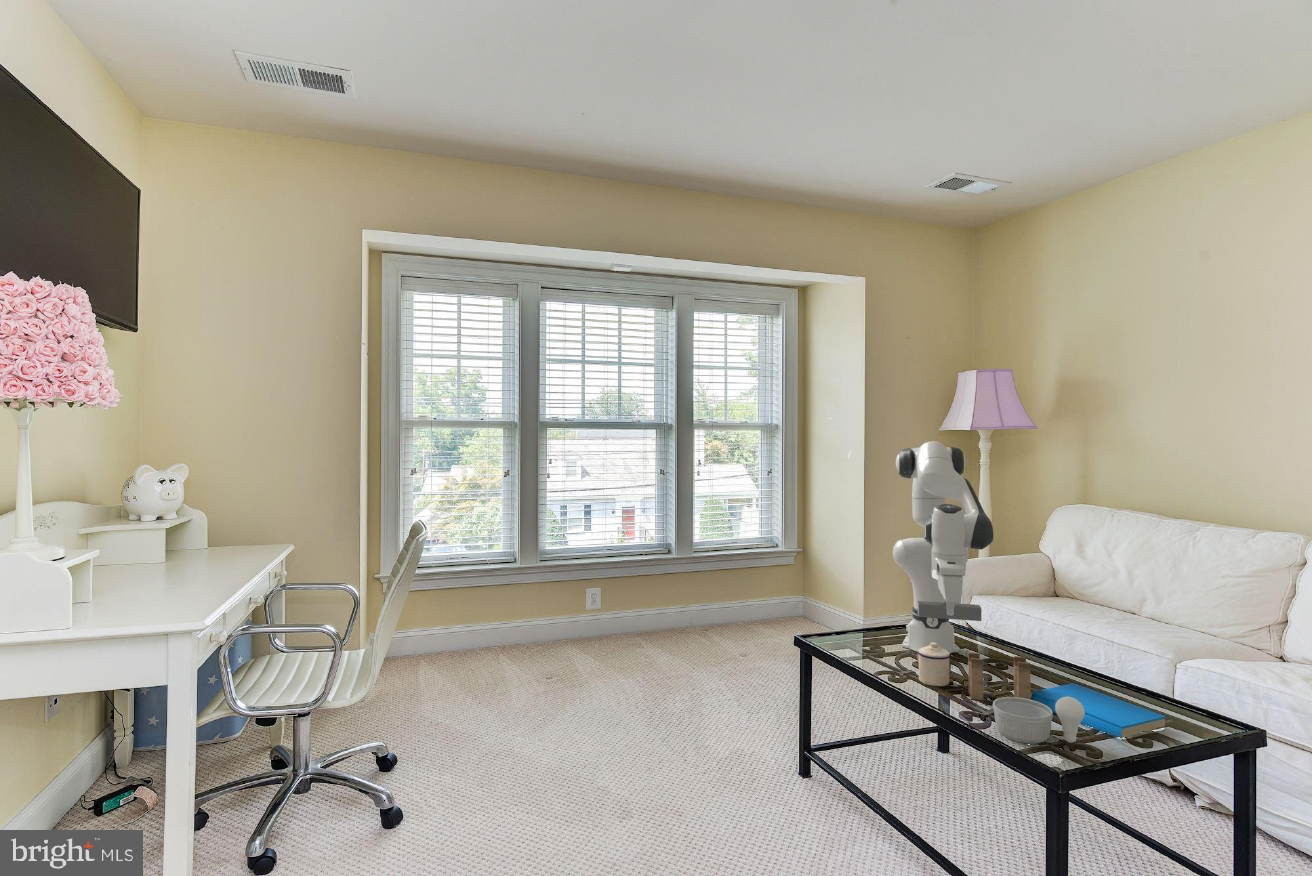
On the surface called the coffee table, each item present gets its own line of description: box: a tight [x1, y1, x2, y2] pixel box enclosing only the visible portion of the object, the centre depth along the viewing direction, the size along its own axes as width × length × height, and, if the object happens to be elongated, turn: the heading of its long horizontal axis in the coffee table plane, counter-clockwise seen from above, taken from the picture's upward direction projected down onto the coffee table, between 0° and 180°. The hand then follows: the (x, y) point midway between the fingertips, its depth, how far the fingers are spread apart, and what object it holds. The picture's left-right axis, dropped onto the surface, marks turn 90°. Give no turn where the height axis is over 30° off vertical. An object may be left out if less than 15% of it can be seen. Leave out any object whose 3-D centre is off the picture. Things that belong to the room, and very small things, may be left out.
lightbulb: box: [1055, 697, 1085, 744], centre depth 163 cm, size 6×6×11 cm
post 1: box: [967, 652, 984, 701], centre depth 193 cm, size 6×3×11 cm, turn 163°
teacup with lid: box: [917, 643, 951, 687], centre depth 206 cm, size 12×9×12 cm
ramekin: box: [992, 696, 1054, 745], centre depth 168 cm, size 13×13×7 cm
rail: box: [918, 601, 982, 622], centre depth 188 cm, size 4×16×4 cm, turn 73°
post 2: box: [1013, 655, 1032, 700], centre depth 190 cm, size 6×3×11 cm, turn 163°
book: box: [1031, 683, 1167, 738], centre depth 179 cm, size 17×4×25 cm
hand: (948, 612), depth 188 cm, fingers closed on rail, 4 cm apart
